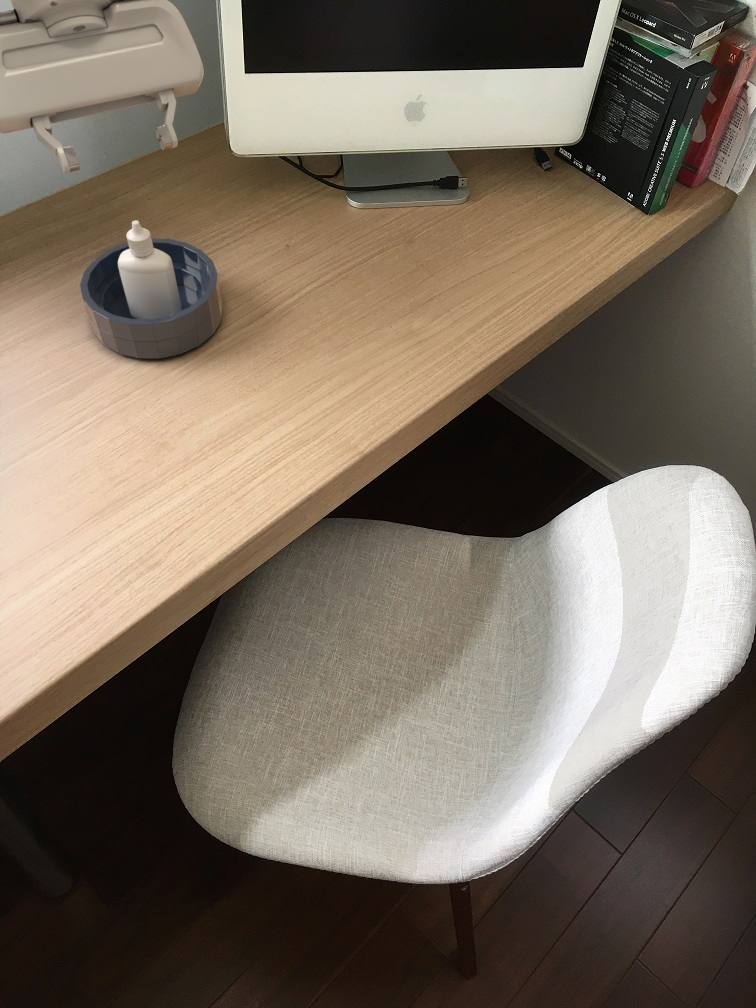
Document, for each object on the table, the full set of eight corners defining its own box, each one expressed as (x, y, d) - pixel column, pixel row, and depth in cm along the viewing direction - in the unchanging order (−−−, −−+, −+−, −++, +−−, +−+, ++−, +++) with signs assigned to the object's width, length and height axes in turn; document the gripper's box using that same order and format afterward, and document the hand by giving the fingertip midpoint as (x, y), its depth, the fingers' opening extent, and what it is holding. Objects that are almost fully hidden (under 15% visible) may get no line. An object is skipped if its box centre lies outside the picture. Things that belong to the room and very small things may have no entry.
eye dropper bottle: (163, 334, 88) (141, 242, 78) (125, 315, 89) (99, 223, 80) (188, 313, 90) (170, 221, 80) (151, 294, 92) (129, 202, 82)
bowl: (104, 375, 85) (91, 336, 80) (84, 291, 93) (71, 251, 88) (236, 346, 88) (231, 307, 84) (206, 267, 96) (200, 228, 92)
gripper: (-62, 4, 65) (7, 174, 68) (175, -34, 71) (228, 123, 74) (-52, 38, 71) (11, 194, 74) (166, 1, 77) (216, 145, 80)
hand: (122, 158), depth 74 cm, fingers open, 8 cm apart
